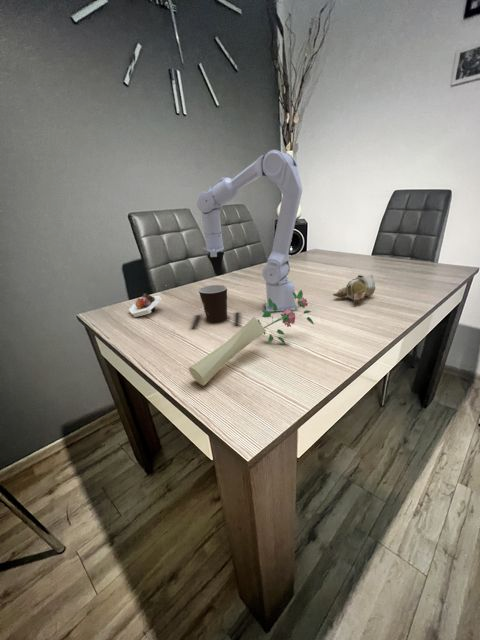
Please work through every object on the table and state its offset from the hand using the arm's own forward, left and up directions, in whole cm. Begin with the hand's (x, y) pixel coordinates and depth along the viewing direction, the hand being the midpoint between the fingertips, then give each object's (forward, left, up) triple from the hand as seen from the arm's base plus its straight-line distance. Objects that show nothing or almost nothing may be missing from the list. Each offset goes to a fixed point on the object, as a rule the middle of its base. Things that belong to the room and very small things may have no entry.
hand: (218, 274), depth 98 cm
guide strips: (0, +18, -10) cm, 21 cm away
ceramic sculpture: (-49, +7, -11) cm, 51 cm away
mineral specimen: (+26, +6, -11) cm, 29 cm away
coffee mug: (0, +15, -11) cm, 18 cm away
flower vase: (-11, +41, -11) cm, 44 cm away
